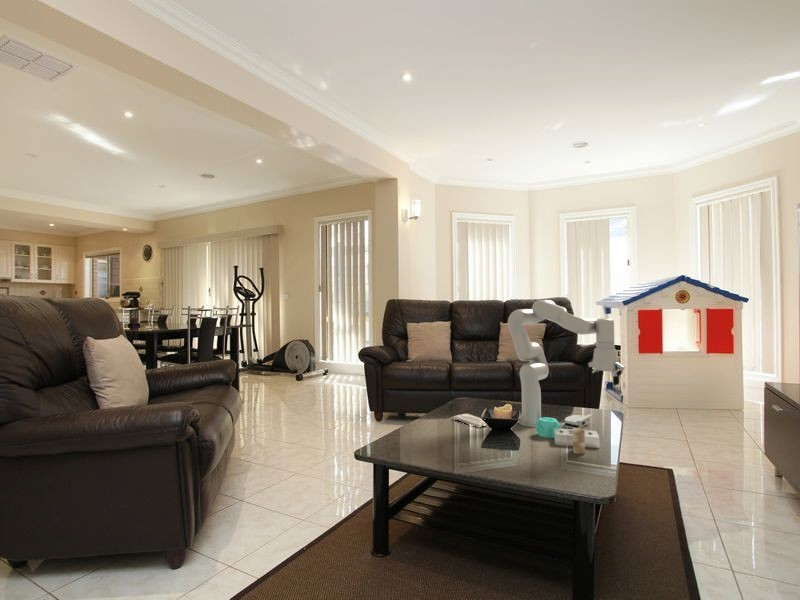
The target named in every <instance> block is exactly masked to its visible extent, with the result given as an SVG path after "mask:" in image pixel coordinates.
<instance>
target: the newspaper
mask: <svg viewBox="0 0 800 600" xmlns="http://www.w3.org/2000/svg"><path fill="white" fill-rule="evenodd" d="M454 418H455V419H457V420H460V421H463V422H466V423H468V424H471V425H473V426H472V427H475V426H476V427H475V428H477V427H478V428H477V429H480V428H479V426H480V425H483V424H486V423H485V422H484V421H483V420H482V419H483V418H482V417H478V416H476V415H473V414H470V413H462V414H457V415H454V416H452V419H454ZM486 426H487V425H486Z"/></svg>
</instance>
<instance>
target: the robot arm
mask: <svg viewBox="0 0 800 600" xmlns="http://www.w3.org/2000/svg"><path fill="white" fill-rule="evenodd" d="M544 320H548V321H550V322H553V323H555V324H557V325H558V326H560V327H561V328H563V329H565V330H567V331H569V332H572V333H575V334H577V335H591V334H595V342H593V344H594V346H596V348H594V349H593V354H592V355H593V357H592V360H591V361H590V362H588V363H587V364H588V367H589V370H590V371H591V373H592V374H593V383H599V382H600V373H599V372H600V371H601V372H609V373H610V372H611V373H612V379H613V380H612V383H613V384H612V385H613V386H618V385H620V376H621V375H622V374H623V373H624V370H625V369H626V367H625V366H624V365H623V364H621V363H619V358H618V353H617V352H618V351H617V349H616V346H615V320H614V319H613V318H595V317H594V318H593V317H585V318H584V317H579V316H576V315H574V314H572V313H569V312H568V310H567V308H566V307H564V306H560V305H558V304H556V303H555V302H554V301H553V300H550V299H538V300H536V301H534V302H533V304H532V306H531V308H521V309H515V310H514V311H512V312H511V313H510V314H509V316H508V318H507V327H508V331H509V333H510V336H511V338H512V344H513V346H514V349H515V354H516V356H517V359H519V360H520V361H522V362H527V361H528V363H525V364H523V365H521V367H520V368H519V378H520V379H519V380H520V385H521V414H519V415H520V420H518V424H519V425H521V426H524V427H529V428H536V423H537V421H538V420H539V419H540V418H542V395H541V394H542V391H541V390H542V389H541V386H540V382H539V381H542V380H544V379H546V378H547V377H548V375H549V373H550V370H549V369H550V368H549V365H548V362H547V358H546V356H545V352H544V350H543V348H542V347H541V345H540V344H539V343H537V342H535V341H531V339H530V337H529V333H528V332H527V330H526V328H525V327H524V326H530V325H535V324H538V323H540V322H542V321H544Z"/></svg>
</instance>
